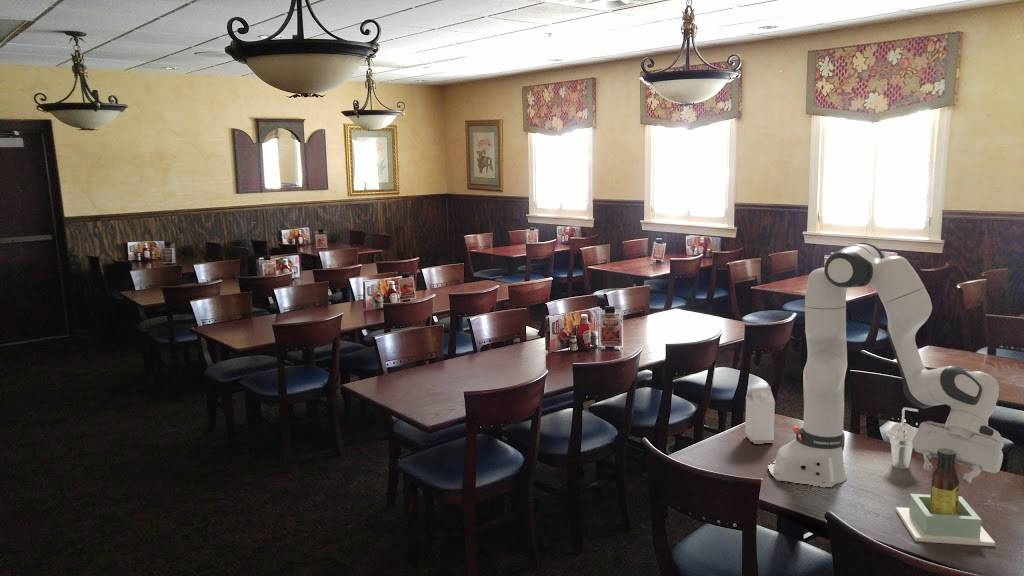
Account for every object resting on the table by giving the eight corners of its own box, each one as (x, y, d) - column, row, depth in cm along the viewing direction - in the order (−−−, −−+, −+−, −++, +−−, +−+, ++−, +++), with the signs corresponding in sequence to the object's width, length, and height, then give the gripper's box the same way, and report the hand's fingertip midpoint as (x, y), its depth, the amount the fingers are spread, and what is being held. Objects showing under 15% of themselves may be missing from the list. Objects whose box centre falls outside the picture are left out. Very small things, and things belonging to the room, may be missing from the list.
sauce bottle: (960, 530, 184) (966, 457, 181) (933, 529, 186) (939, 456, 182) (950, 518, 191) (956, 447, 187) (924, 516, 192) (929, 446, 188)
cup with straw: (908, 460, 228) (912, 399, 225) (921, 472, 220) (926, 409, 216) (880, 459, 229) (884, 399, 226) (892, 472, 220) (896, 409, 217)
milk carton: (745, 437, 251) (746, 385, 248) (764, 435, 252) (766, 383, 248) (753, 445, 244) (754, 391, 241) (773, 443, 245) (775, 390, 241)
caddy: (915, 541, 182) (916, 519, 181) (895, 510, 198) (896, 490, 197) (994, 546, 179) (996, 523, 177) (968, 514, 194) (970, 493, 193)
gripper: (919, 413, 196) (900, 457, 192) (1006, 434, 180) (987, 482, 176) (925, 424, 199) (907, 468, 195) (1011, 446, 183) (993, 494, 179)
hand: (946, 475), depth 185 cm, fingers open, 8 cm apart
